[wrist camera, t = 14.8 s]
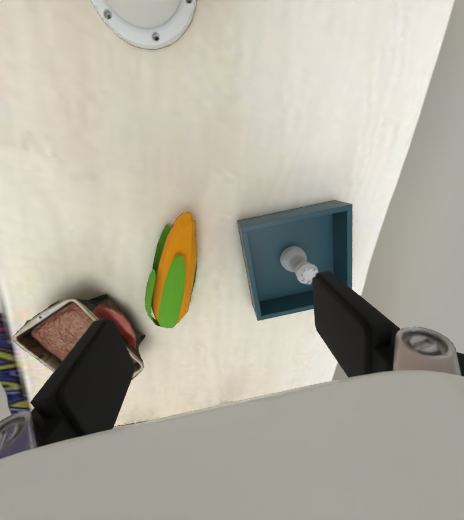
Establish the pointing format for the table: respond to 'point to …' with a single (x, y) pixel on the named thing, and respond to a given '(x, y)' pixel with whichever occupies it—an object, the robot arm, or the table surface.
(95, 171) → the table surface
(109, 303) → the rectangular footed planter
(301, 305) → the bin
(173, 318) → the corn
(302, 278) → the rook chess piece
